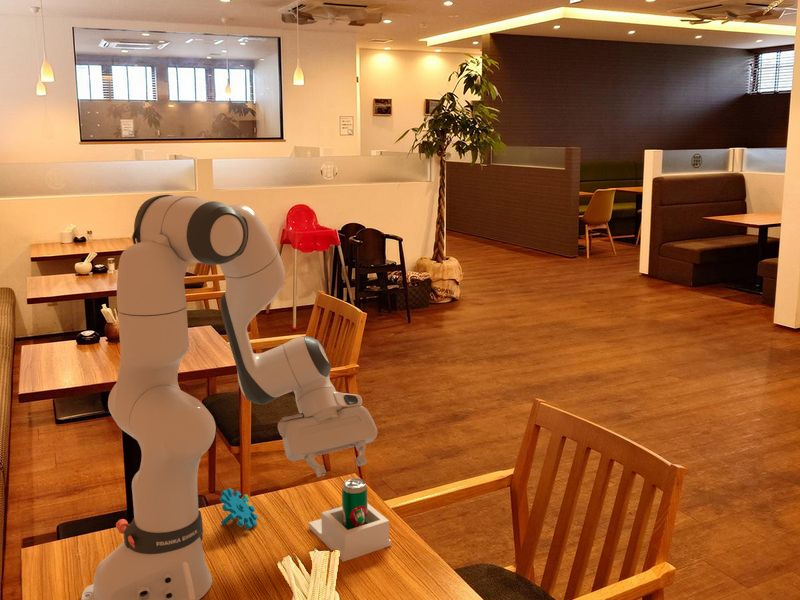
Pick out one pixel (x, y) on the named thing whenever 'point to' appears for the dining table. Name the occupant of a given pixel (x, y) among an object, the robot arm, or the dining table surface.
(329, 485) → the dining table surface
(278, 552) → the dining table surface
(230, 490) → the teal lobed piece
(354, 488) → the soda can
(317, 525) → the box
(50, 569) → the dining table surface
